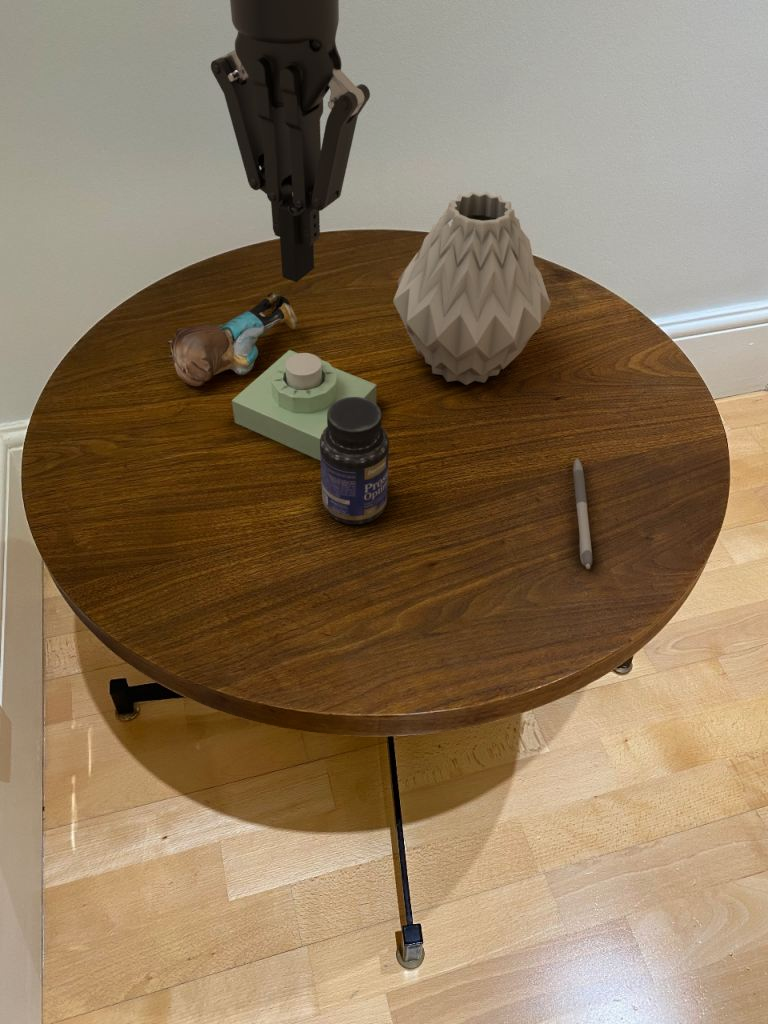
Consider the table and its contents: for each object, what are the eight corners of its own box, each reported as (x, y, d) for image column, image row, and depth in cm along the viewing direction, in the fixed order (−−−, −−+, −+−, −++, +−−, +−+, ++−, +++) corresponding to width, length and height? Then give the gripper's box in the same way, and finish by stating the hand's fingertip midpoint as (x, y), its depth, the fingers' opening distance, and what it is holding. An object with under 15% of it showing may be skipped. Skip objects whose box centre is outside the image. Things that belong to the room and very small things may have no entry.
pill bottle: (374, 534, 80) (376, 445, 72) (312, 517, 81) (307, 428, 73) (395, 489, 84) (399, 399, 76) (336, 473, 85) (333, 384, 77)
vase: (551, 338, 101) (581, 185, 87) (513, 425, 91) (541, 266, 77) (419, 306, 105) (428, 155, 91) (368, 386, 94) (370, 229, 81)
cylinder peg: (279, 383, 87) (277, 367, 86) (299, 364, 89) (298, 348, 88) (309, 396, 86) (308, 379, 84) (329, 376, 88) (328, 360, 87)
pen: (580, 574, 77) (583, 564, 76) (570, 465, 87) (572, 454, 86) (592, 575, 77) (595, 565, 76) (580, 465, 87) (583, 455, 86)
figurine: (162, 371, 95) (152, 325, 91) (273, 316, 103) (269, 270, 98) (203, 404, 92) (195, 357, 87) (315, 344, 99) (312, 298, 95)
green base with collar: (234, 422, 90) (229, 384, 86) (290, 371, 96) (288, 334, 92) (323, 462, 86) (322, 424, 83) (376, 407, 92) (377, 369, 88)
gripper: (393, -32, 59) (384, 275, 76) (239, -64, 64) (263, 233, 81) (333, -3, 55) (337, 316, 72) (171, -40, 59) (212, 270, 76)
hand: (298, 272), depth 76 cm, fingers closed
